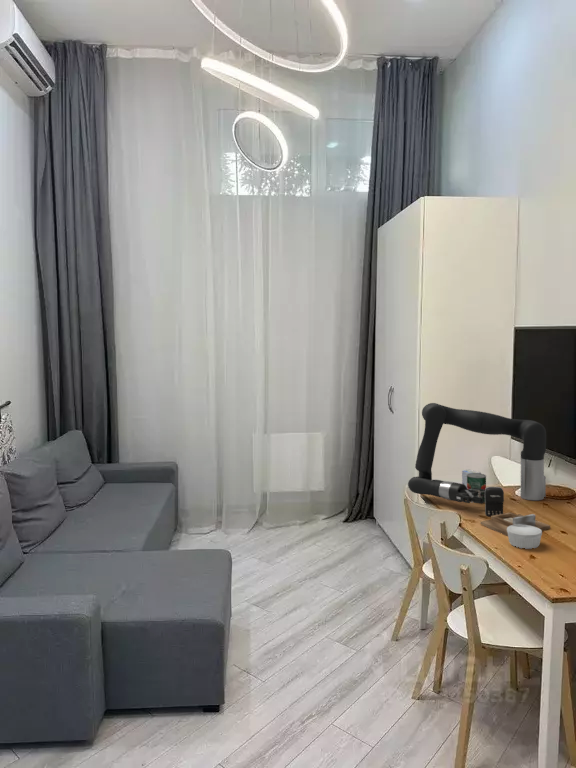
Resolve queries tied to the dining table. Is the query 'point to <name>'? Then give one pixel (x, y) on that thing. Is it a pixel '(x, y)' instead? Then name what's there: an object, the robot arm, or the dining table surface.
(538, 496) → the robot arm
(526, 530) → the ramekin
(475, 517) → the dining table surface
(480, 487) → the canned tomato
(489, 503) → the battery charger
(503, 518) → the rail board
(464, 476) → the medicine box
